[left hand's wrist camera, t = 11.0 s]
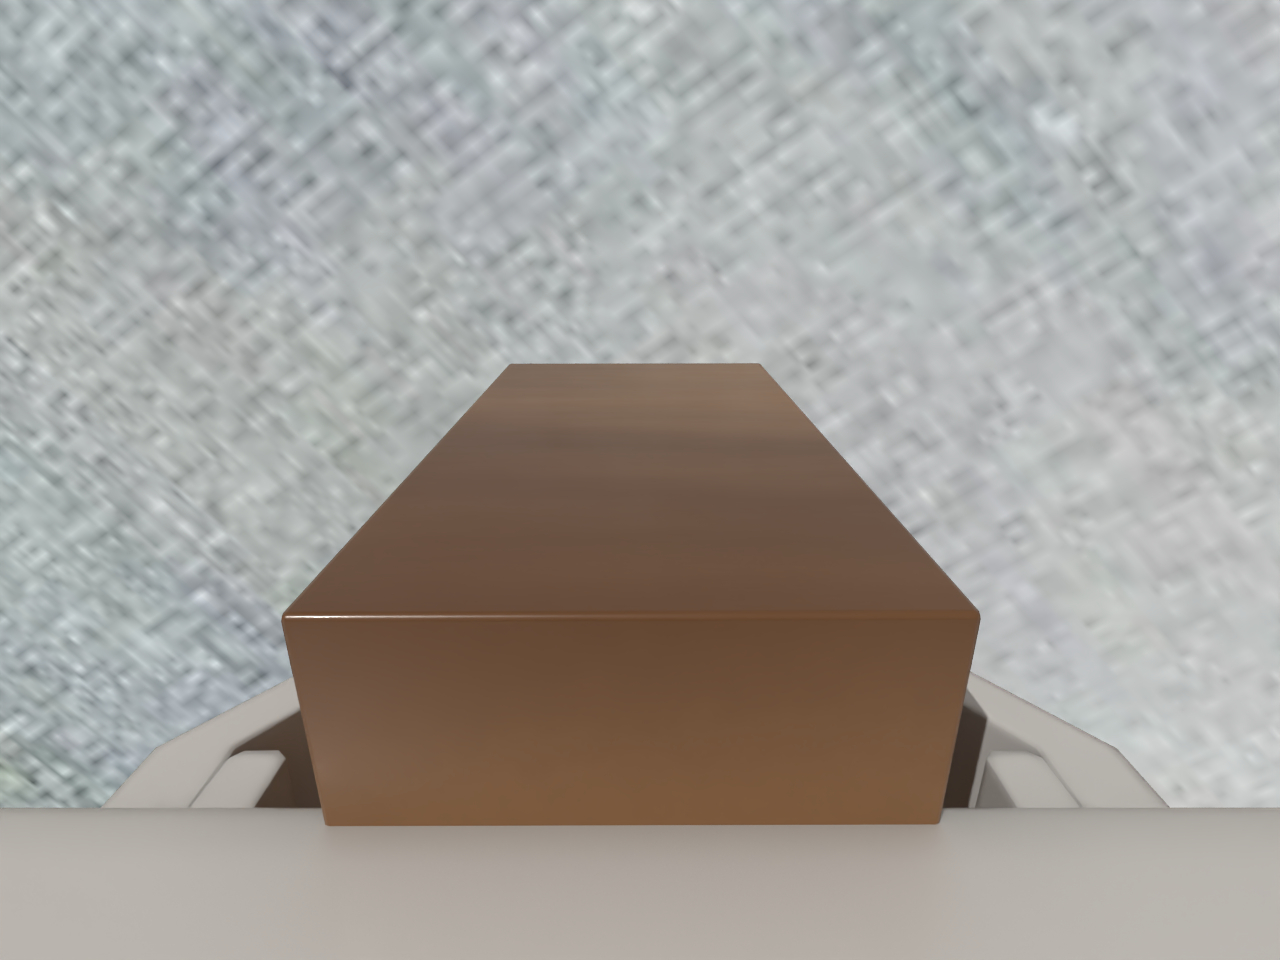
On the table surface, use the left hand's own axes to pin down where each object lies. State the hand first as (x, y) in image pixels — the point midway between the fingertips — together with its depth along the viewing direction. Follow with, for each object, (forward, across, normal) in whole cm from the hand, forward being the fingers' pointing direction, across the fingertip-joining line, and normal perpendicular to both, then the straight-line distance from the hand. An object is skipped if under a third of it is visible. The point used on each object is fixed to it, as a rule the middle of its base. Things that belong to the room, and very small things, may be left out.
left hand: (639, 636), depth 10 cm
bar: (+4, 0, -10) cm, 11 cm away
